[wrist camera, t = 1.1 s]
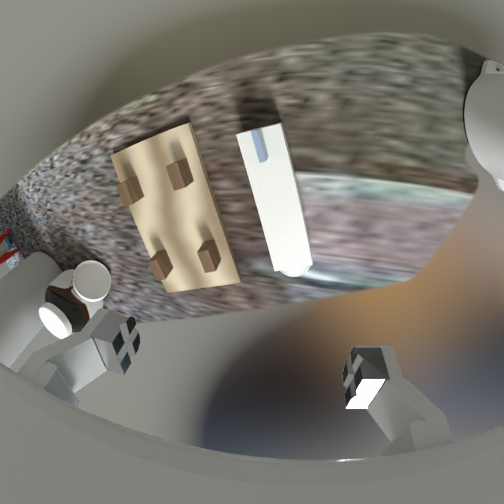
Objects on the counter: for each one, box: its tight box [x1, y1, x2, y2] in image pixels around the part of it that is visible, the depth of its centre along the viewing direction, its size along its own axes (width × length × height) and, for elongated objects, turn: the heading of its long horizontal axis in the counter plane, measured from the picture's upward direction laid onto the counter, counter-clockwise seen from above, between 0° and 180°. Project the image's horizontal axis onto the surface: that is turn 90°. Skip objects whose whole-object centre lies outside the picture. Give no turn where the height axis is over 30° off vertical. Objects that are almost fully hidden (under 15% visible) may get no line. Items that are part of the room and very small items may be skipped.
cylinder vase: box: [0, 252, 62, 368], centre depth 36 cm, size 12×12×25 cm
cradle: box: [111, 123, 242, 293], centre depth 35 cm, size 12×22×4 cm, turn 15°
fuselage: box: [236, 123, 313, 277], centre depth 30 cm, size 4×18×8 cm, turn 15°
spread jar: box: [39, 260, 111, 339], centre depth 40 cm, size 12×11×12 cm
